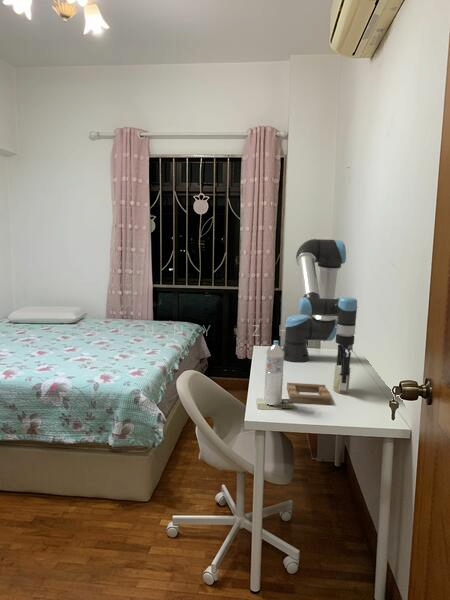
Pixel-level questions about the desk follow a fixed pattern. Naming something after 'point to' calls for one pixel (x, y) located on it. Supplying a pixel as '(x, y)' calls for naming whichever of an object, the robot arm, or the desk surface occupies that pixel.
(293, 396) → the socket
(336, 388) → the box
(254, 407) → the desk surface
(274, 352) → the water bottle
